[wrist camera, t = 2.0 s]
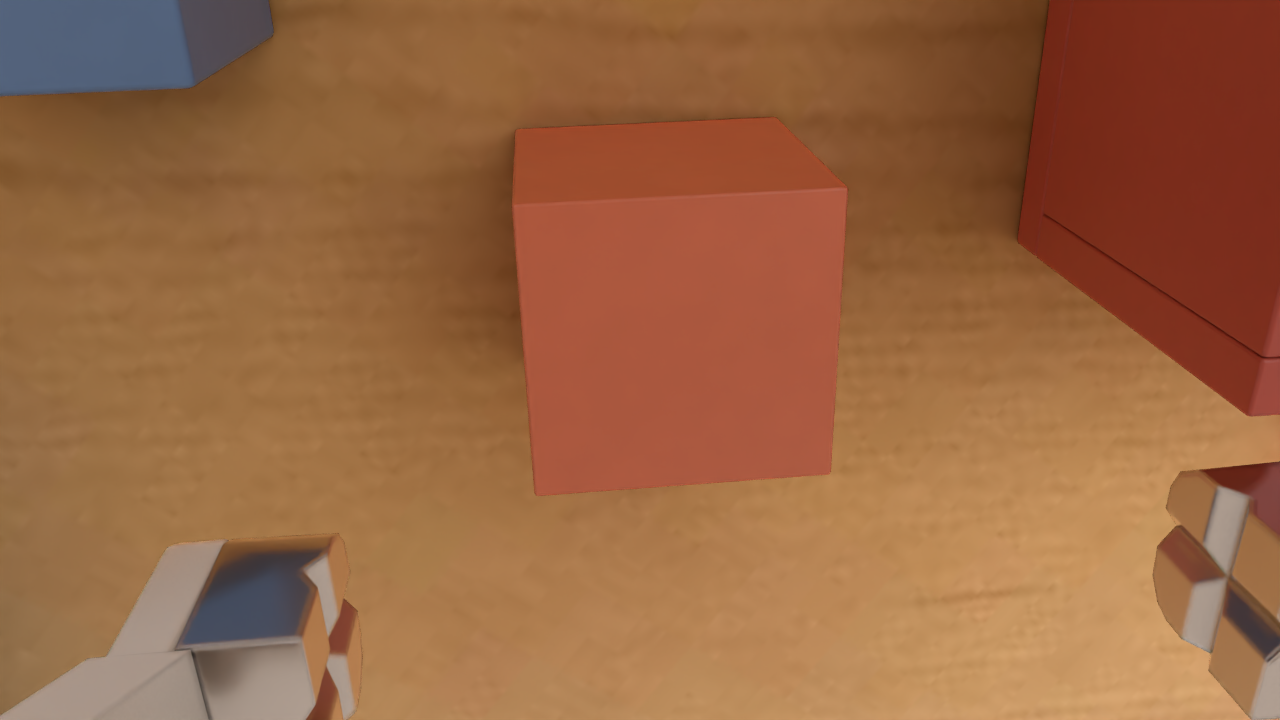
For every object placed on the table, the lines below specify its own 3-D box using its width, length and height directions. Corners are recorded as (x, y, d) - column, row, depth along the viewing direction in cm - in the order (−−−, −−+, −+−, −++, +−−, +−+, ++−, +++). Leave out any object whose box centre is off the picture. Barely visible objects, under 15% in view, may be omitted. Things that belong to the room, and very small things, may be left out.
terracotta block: (514, 128, 17) (511, 204, 13) (776, 115, 18) (849, 187, 14) (533, 368, 19) (534, 497, 15) (769, 353, 19) (831, 475, 16)
